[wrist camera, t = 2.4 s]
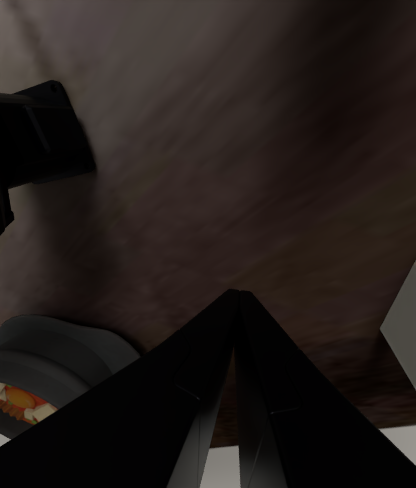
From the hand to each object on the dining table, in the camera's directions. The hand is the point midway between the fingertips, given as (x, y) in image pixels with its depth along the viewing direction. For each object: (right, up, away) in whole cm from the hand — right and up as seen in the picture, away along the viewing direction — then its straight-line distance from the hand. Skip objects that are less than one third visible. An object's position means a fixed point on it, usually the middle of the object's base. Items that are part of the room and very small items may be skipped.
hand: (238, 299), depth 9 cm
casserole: (-20, -13, +25) cm, 35 cm away
